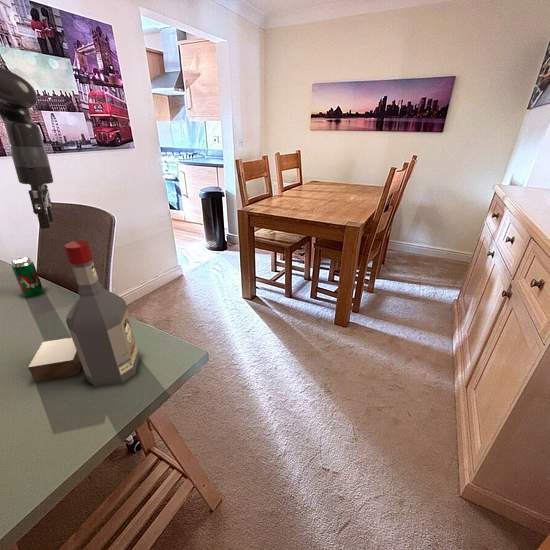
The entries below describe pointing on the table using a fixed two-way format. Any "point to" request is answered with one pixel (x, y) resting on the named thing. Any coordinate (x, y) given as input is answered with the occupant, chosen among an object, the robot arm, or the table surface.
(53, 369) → the stand
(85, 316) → the liquor
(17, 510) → the table surface
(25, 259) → the soda can
